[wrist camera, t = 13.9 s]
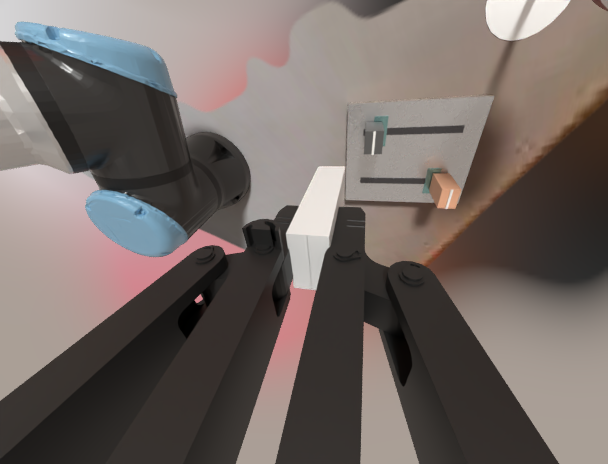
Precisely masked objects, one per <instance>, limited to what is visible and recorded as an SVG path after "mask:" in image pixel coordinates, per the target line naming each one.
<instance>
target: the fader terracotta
mask: <svg viewBox="0 0 608 464" xmlns="http://www.w3.org/2000/svg"><path fill="white" fill-rule="evenodd" d="M429 192H430V194H431V196H432V198H433V200H434V202H435V204H436V207H437V208H445V209H448V208H450V209H455V208H456V205H457V202H458V199H459V196H460V193H461V188H460V187H459V185H458V184H457V183H456V181H455V180H454V179H453V177H452V176H451V175H450V173H433V176H432V180H431V184H430V188H429Z"/></svg>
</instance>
